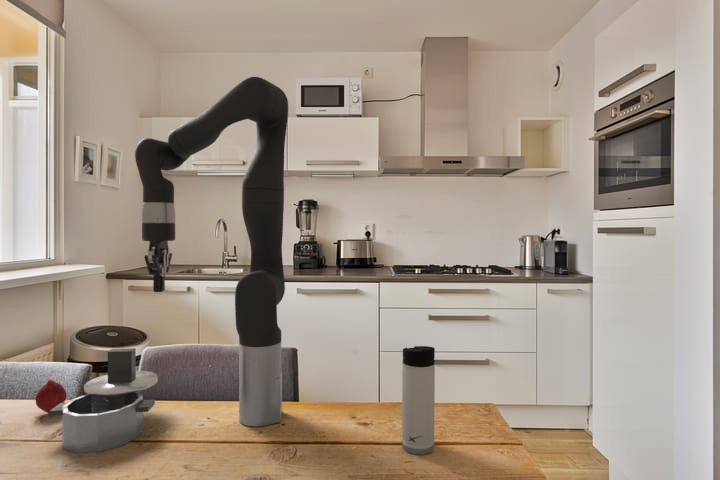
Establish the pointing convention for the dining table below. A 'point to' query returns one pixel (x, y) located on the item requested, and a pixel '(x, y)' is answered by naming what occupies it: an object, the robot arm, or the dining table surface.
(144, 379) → the lid
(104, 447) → the pot
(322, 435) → the dining table surface
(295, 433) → the dining table surface
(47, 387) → the onion
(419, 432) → the travel mug
